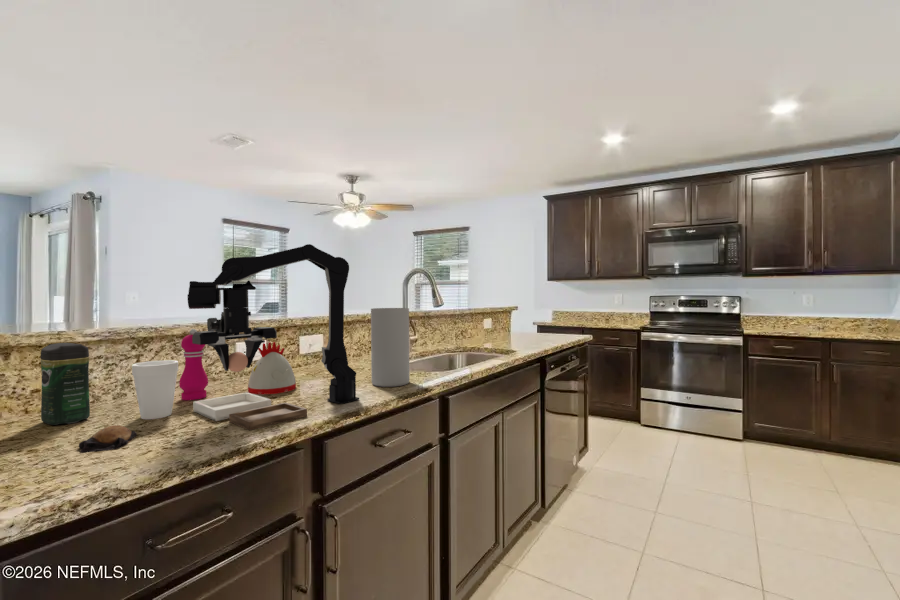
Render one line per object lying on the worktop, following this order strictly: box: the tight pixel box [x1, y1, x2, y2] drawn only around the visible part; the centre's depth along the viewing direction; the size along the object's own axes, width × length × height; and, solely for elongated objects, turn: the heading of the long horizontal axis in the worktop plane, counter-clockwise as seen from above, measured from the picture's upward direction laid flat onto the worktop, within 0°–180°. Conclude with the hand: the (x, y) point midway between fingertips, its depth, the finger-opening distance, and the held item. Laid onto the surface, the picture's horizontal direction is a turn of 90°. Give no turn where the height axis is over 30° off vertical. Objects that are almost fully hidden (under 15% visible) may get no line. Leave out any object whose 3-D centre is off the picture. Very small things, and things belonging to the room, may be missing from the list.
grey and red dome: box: [247, 341, 297, 395], centre depth 134 cm, size 14×14×15 cm
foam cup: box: [131, 359, 179, 420], centre depth 105 cm, size 10×9×13 cm
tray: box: [228, 402, 308, 431], centre depth 102 cm, size 14×10×2 cm
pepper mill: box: [178, 328, 209, 401], centre depth 124 cm, size 7×7×20 cm
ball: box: [228, 351, 248, 373], centre depth 109 cm, size 5×5×5 cm
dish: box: [192, 391, 272, 422], centre depth 110 cm, size 14×14×2 cm
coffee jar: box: [39, 342, 91, 426], centre depth 101 cm, size 10×8×19 cm
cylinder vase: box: [370, 307, 410, 388], centre depth 142 cm, size 12×12×25 cm
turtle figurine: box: [78, 424, 138, 454], centre depth 86 cm, size 11×8×4 cm
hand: (237, 369), depth 109 cm, fingers closed on ball, 5 cm apart
